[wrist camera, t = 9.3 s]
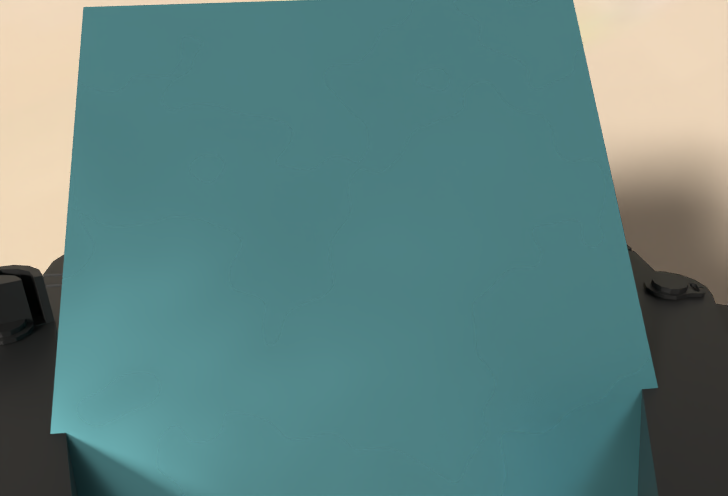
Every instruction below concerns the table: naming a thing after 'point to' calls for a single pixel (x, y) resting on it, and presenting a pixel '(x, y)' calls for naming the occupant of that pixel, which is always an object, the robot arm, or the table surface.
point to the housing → (345, 256)
